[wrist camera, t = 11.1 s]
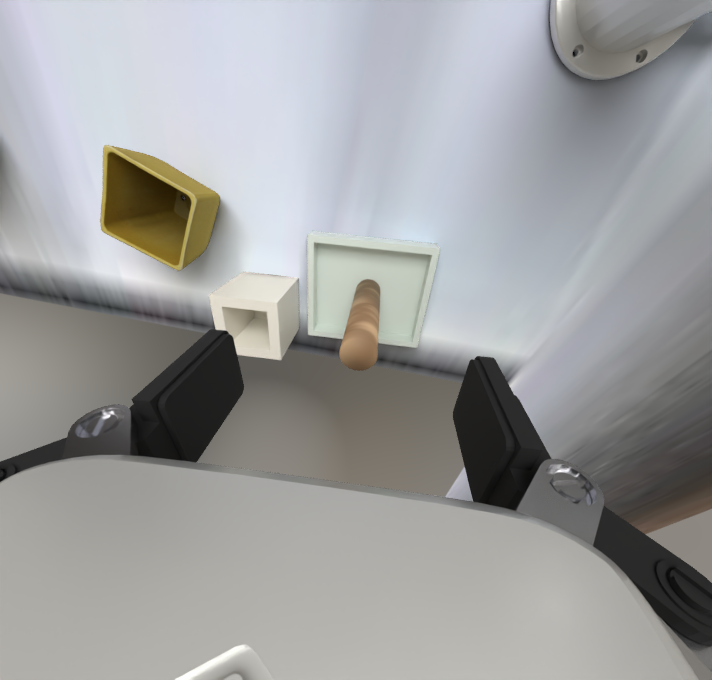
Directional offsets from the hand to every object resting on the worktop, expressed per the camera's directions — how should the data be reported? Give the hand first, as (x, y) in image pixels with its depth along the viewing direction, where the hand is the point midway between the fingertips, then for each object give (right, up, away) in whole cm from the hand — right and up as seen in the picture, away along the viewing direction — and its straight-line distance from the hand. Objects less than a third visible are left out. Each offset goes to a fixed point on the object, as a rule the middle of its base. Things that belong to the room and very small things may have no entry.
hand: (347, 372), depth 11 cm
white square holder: (-12, +7, +30) cm, 33 cm away
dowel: (+2, +8, +27) cm, 29 cm away
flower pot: (-20, +19, +25) cm, 37 cm away
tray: (+2, +9, +28) cm, 29 cm away
